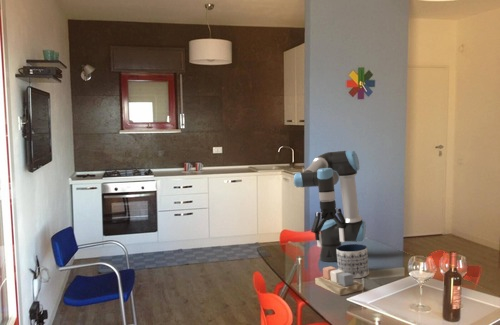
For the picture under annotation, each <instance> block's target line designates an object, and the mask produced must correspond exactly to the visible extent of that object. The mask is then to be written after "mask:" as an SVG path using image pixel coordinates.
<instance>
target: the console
mask: <svg viewBox="0 0 500 325" xmlns="http://www.w3.org/2000/svg"><path fill="white" fill-rule="evenodd" d="M353 280H354V279H353ZM314 282H315V285H317V286H319V287H321V288H323V289H325V290H327V291H329V292H332V293H334V294H335V295H337V296H344V295H349V294H352V293H357V292H360V291H363V290H364V284H363V282H359V281H357V280H354V285H351V286H347V287H344V286H342V285H339V283H335V282H332V281H331V280H328V279H325V278H323V276H320V277H319V276H318V277H315V278H314Z"/></svg>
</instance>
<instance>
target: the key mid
mask: <svg viewBox="0 0 500 325" xmlns="http://www.w3.org/2000/svg"><path fill="white" fill-rule="evenodd" d="M336 269H337V270H333V271H331V272H330V275H331V281H332V282H335V283H339V278H338V275H339V274H342V273H345V272H344V271H342V270H339V269H338V268H336Z"/></svg>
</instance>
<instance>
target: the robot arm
mask: <svg viewBox="0 0 500 325" xmlns="http://www.w3.org/2000/svg"><path fill="white" fill-rule="evenodd" d="M359 161H360V160H359V157H358V154H357V153H356V151H355V150H338V151H329V152H325V153H322V154H320V155H318V156H317V157H315V158H314V159H313V160H312V162H311V164H310V165H308V166H307V168H306V169H305V170H303V171H302V172H296V173H295V174H294V175H293V183H294V186H295V187H296V188H311V187H312V188H313V187H318V197H319V209H320V211H316V212H315V214H314V215H315V216H314V220H313V224H312V227H311V230H310V232H311V233H313V234H314V238H315V241H316V244H317V245H316V247H318V248H320V251H319V252H320V253H319V260H320V261H321V260H322V261H321V262H326V263H332V262H334V263H335V262H337V251H336V248H337V247H339V246H342V243H346V242H355V243H356V242H363V241H365V237H366V231H367V230H366V229H367V224H366V221H365V220H363V217H362V216H361V215H360V213H359V212H360V211H359V202H358V194H357V186H356V184H357V183H356V175H357V174H358V171H359V170H360V162H359ZM338 182H340V183H339V185H340V191H341V201H342V208H339V207H338V208H337V206H336V192H335V185H337V184H338ZM342 209H343V212H342Z"/></svg>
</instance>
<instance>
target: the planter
mask: <svg viewBox="0 0 500 325" xmlns="http://www.w3.org/2000/svg"><path fill="white" fill-rule="evenodd" d="M336 251H337V261H336V262H337V269H339V270H342V271H344V272H345V273H346V272H347V273H350V274H352V275H353V280H354V279H361V278H365V277H367V276H369V274H370V269H369V268H370V266H369V256H368V254H369V253H368V246H367V245H364V244H359V243H348V244H341V246H339V247H337V248H336Z"/></svg>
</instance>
